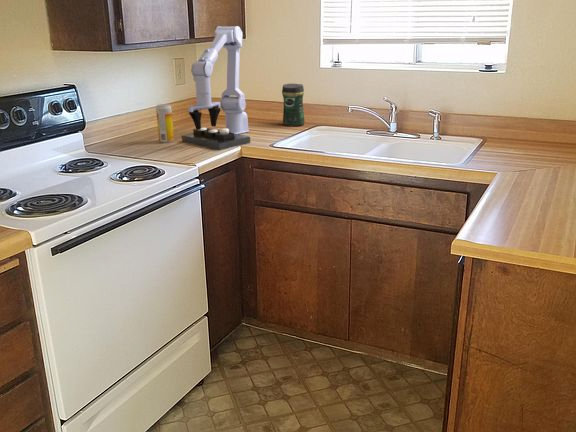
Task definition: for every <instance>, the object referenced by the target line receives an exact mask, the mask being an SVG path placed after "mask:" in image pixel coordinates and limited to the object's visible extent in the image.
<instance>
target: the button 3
mask: <svg viewBox="0 0 576 432" xmlns="http://www.w3.org/2000/svg"><path fill="white" fill-rule="evenodd" d="M219 130H220V135H227V134H229V129H227V128H226V127H224V128H219Z"/></svg>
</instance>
